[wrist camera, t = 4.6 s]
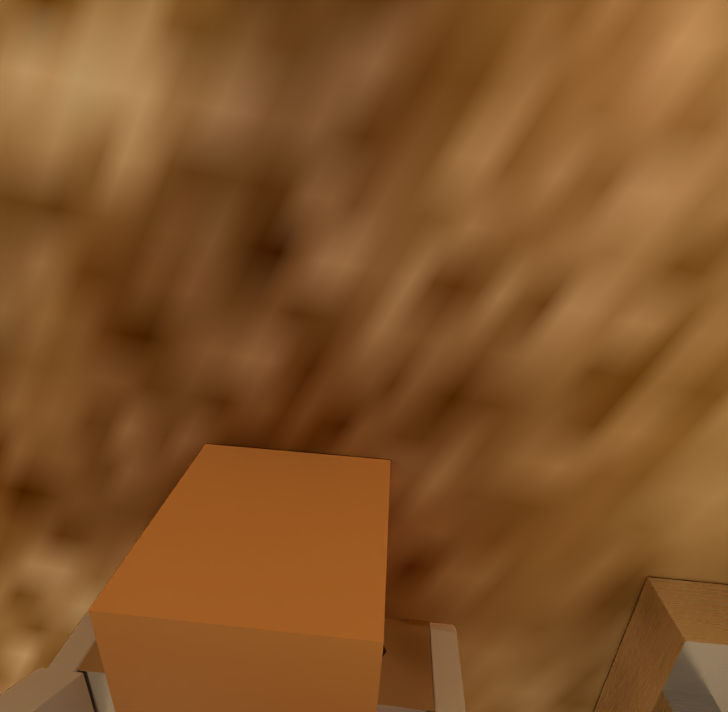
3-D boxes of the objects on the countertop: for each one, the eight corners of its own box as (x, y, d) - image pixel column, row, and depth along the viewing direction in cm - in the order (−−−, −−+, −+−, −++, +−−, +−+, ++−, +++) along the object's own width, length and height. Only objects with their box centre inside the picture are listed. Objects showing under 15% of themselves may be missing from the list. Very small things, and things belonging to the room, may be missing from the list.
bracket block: (224, 633, 12) (147, 836, 9) (205, 443, 10) (87, 610, 6) (374, 650, 12) (361, 864, 8) (390, 460, 10) (383, 642, 6)
